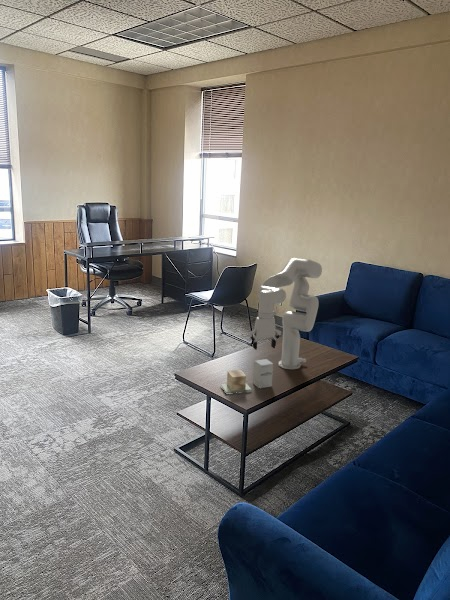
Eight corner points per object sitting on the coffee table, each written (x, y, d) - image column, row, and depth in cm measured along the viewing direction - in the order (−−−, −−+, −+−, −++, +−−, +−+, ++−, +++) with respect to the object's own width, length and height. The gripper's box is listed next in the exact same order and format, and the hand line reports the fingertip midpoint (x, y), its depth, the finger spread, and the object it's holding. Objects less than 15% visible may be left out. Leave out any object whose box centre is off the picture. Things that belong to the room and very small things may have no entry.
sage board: (245, 384, 238) (245, 381, 238) (251, 392, 230) (251, 389, 230) (220, 387, 235) (220, 384, 234) (226, 394, 226) (226, 391, 226)
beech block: (240, 382, 237) (240, 369, 235) (245, 389, 229) (246, 375, 228) (227, 383, 235) (227, 370, 233) (231, 390, 227) (232, 377, 226)
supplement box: (259, 389, 234) (260, 365, 231) (252, 383, 240) (253, 360, 237) (272, 386, 237) (273, 363, 234) (265, 381, 243) (266, 358, 240)
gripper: (279, 312, 236) (277, 344, 240) (246, 314, 230) (245, 346, 235) (285, 316, 229) (283, 349, 233) (252, 318, 224) (250, 352, 228)
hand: (264, 348), depth 234 cm, fingers open, 9 cm apart
